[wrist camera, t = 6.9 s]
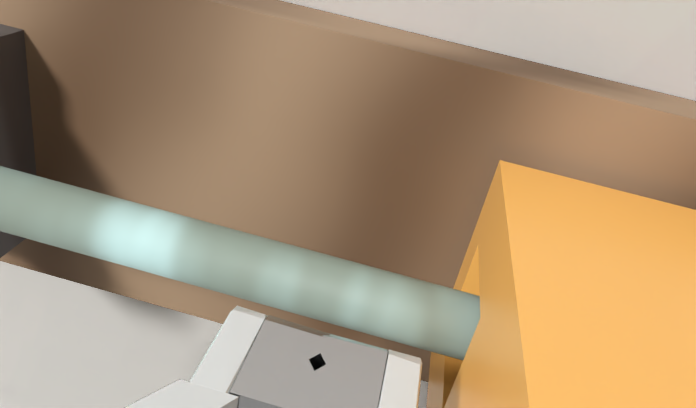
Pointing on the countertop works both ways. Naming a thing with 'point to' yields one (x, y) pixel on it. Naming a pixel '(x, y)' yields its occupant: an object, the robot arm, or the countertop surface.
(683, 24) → the countertop surface
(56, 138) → the slider rail board
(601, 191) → the orange slider block
